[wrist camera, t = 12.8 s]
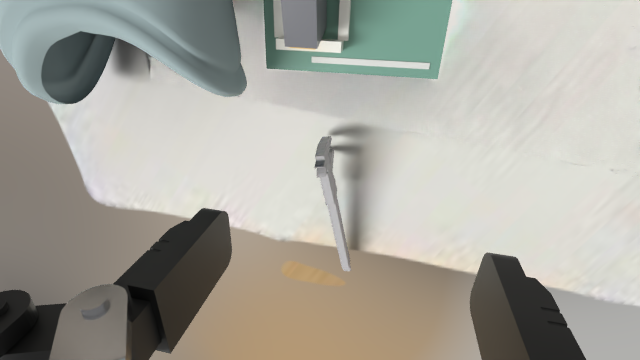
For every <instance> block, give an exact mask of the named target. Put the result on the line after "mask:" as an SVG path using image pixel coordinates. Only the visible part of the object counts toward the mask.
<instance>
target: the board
mask: <svg viewBox="0 0 640 360" xmlns="http://www.w3.org/2000/svg"><path fill="white" fill-rule="evenodd" d="M451 4H452V0H327V28H326V30H325V32H324V35H323V37H322V39H321V41H320V44H319V46H318V48H317V49H315V50H314V49H300V48H290V47H285V43H284V31H283V19H282V8H281V0H264V20H265V43H266V65H267V68H268V69H284V70H300V71H316V72H332V73H348V74H364V75H380V76H396V77H412V78H428V79H438V73H439V68H440V63H441V57H442V52H443V47H444V41H445V36H446V31H447V26H448V20H449V15H450V10H451Z"/></svg>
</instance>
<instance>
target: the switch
mask: <svg viewBox="0 0 640 360" xmlns="http://www.w3.org/2000/svg"><path fill="white" fill-rule="evenodd" d="M281 8H282V19H283V31H284V43H285V47H290V48H300V49H314V50H315V49H317V48H318V46H319V44H320V41H321V39H322V37H323V35H324V32H325V30H326V28H327V0H281Z"/></svg>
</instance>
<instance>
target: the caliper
mask: <svg viewBox="0 0 640 360" xmlns="http://www.w3.org/2000/svg"><path fill="white" fill-rule="evenodd" d="M331 140H332V138H331V136H328V137H322V139H321V140H320V142H319V144H318V147H317V151H316V155H315V158H316V164H315V167H314V168H317V177H320V181H321V185H322V189H323V193H324V197H325V201H326V205H328V210H329V214H330V218H331V223H332V227H333V231H334V236H335V240H336V244H337V249H338V253H339V257H340V261H341V266H342V269H343V270H344V271H351V267H350V258H349V253H348V248H347V244H346V239H345V234H344V229H343V224H342V219H341V215H340V210H339V205H338V200H337V187H336V183H335V178H334V175H333V172H332V168H333V157H334V148H332V149H330V144H331Z"/></svg>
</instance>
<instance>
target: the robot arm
mask: <svg viewBox="0 0 640 360" xmlns="http://www.w3.org/2000/svg"><path fill="white" fill-rule="evenodd" d="M231 253H232V246H231V236H230V227H229V218H228V214H227V212H225V211H219V210H213V209H206V208H203V209H201V210H200V211H199V212H198V213H197V214H196V215H195V216H194V217H193V218H192V219H191V220H190V221H183V222H182V223H180V224H178V225H176V226H174V227H173V228H170V229H169V230H168V231H167V232H166V233H165V234H164V235H163V236H162V237H161V238H160V239H159V242H156V243H155V244H154V245H153V246H152V247H151V248H150V250H148V251H147V252H146V253H144V254H143V256H141V257H140V258H139V259H138V260H137V261H136V262H135V263H134V264H133V265H132V266H131V267H130V268H129V269H128V270H127V271H126V272H125V273H124V274H123V275H122V276H121V277H120V278H119V279H118V280H117V281H116V282H115V283H114V284H105V285H100V286H95V287H92V288H90V289H87V290H85V291H83V292H81V293H79V294H78V295H76V296H75V297H74V298H72V299H71V300H70V301H69V302H68V303H66V304H54V305H41V306H35V305H34V303H33V301H32V299H31V297H30V295H29V294H28V293H27V292H25V291H21V290H9V291H3V292H0V360H149V358H150V357H151V355H152V354H153V352H154V351H155V350H158V351H162V352H166V353H171V352H172V351H173V349H174V347H175V346H176V344H177V343H178V341H179V340H180V338H181V337H182V335H183V334H184V332H185V330H186V329H187V328H188V326H189V325H190V323H191V322H192V320H193V319H194V317H195V315H196V314H197V312H198V311H199V309H200V308H201V306H202V305H203V303H204V302H205V300H206V299H207V297H208V296H209V294H210V293H211V291H212V290H213V288H214V287H215V285H216V283H217V282H218V280H219V279H220V277H221V276H222V274H223V273H224V271H225V270H226V268H227V267H228V265H229V262H230V259H231ZM470 311H471V316H472V320H473V324H474V329H475V333H476V336H477V341H478V345H479V350H480V354H481V358H482V360H586V358H585V357H584V355H583V353H582V351H581V349H580V347H579V345H578V343H577V342H576V340H575V338H574V336H573V334H572V332H571V330H570V329H569V328H567V323H566V321H565V319H564V317H563V315H562V314H561V313H560V310H559V308H558V306H557V304H556V302H555V300H554V298H553V297H552V295H551V293H550V292H549V291H548V290H547V289H546V288H545V287H544V286H543V285H542V284H541V283H540V282H539V281H538V280H537V279H535V278H530V277H526V275H525V273H524V271H523V269H522V267H521V265H520V263H519V261H518V259H517V258H516V257H513V256H506V255H500V254H493V253H486V254H485V255H484V257H483V259H482V262H481V265H480V268H479V271H478V273H477V276H476V280H475V282H474V285H473V288H472V291H471V297H470Z"/></svg>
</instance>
